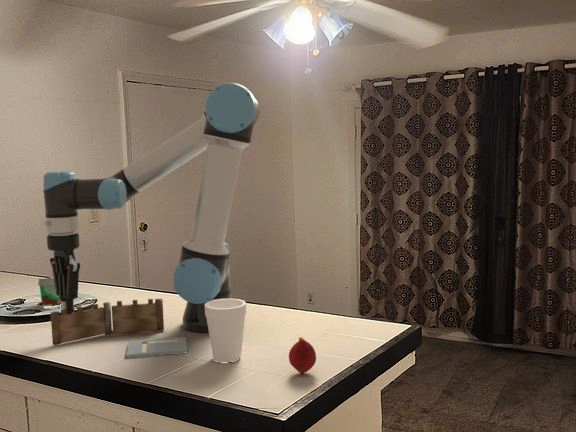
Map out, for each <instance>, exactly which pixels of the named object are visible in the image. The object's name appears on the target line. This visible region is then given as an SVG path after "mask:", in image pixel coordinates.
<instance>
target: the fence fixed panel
mask: <svg viewBox="0 0 576 432" xmlns="http://www.w3.org/2000/svg"><path fill="white" fill-rule="evenodd" d="M147 302H148V303H138V299H132V304H130V303H129V304H123V300H117V301H116V305H115V304H114V305H111V302H110V301H106V302H103V303H102V305H103V308H104V325H105V334H104V335H105V336H108V337H118V336H119V337H120V336H131V335H132V336H133V335H146V334H157V333H159V332H161V333H164V331H165V322H164V321H165V320H164V303H163V302H164V300H163V298H155V299H154V298H148V299H147Z"/></svg>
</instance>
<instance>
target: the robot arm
mask: <svg viewBox="0 0 576 432" xmlns="http://www.w3.org/2000/svg"><path fill="white" fill-rule="evenodd" d="M204 106H205V107H204V108H205V109H204V110H205V111H203V112H202V115H201V118H200V119H198V120H196V121H195V122H194V123H192V124H190V125H189V126H188V127H185V129H182V130H181V131H179V132H177V134H175V135H174V136H172V137H170V138H168V139H167V140H165V141H164V142H162V143H161V144H159V145H158V146H157V147H155V148H153V149H152V150H150V151H149V152H147V153H146V154H145V155H143V156H141V157H140V158H139V157H138V159H137V160H135V161H133V162H132V163H130V164H128V165H127V166H125V167H124V168H123V169H121V170H119V171H118V172H116V173H114V174H113V175H112V176H108V177H103V178H92V179H91V178H90V179H89V178H87V179H82V178H81V179H80V178H77V177H76V173H75V172H74V171H71V170H70V171H69V170H68V171H67V170H66V171H62V170H61V171H60V170H59V171H48V172H46V173H45V174H44V175H43V189H42V192H43V199H44V201H43V202H44V210H45V213H44V214H45V215H44V216H45V222H44V223H43V224H44V226H46V227H45V229H46V233H48V234H47V236H46V243H47V249H48V250H49V251H53V257H50V258H49V262H50V265H51V269H52V276H54V282H55V289H56V294H57V296H59V298H60V299H61V308H60V311H61V310H65V309H66V310H67V314H68V313H73V312H75V303H74V300H76V299H78V297H79V296H78V295H79V277H80V268H81V263H80V262H76V256H75V252H74V250H77V249H78V248H79V247H80V234H79V233H78V232H79V230H80V228H79V227H80V226H79V214H78V210H108V211H110V210H116V209H118V210H119V209H122V208H123V207H124V206H125V204H126V203H127V202H129V201H131V199H132V198H133V197H134V196H136V195H137V194H140V193H141V192H142V191H143V190H145V189H147V188H148V187H149V186H151V185H153V184H154V183H156V182H158V181H159V180H161V179H162V178H164V177H165V176H167V175H169V174H170V173H171V172H173V171H175V170H176V169H178V168H179V167H181V166H183V165H184V164H185V163H187V162H189V161H190V160H192V159H194V158H195V157H197V156H198V155H200V154H201V153H203V152H205V151H206V152H205V158H204V162H203V167H202V173H201V178H200V184H199V189H198V195H197V199H196V204H195V205H196V206H195V209H194V215H193V221H192V226H191V232H190V235H189V238H188V239H187V240H185V241H184V242H183V243H182V245H181V249H180V255H179V261H178V265H177V266H176V268H175V270H174V272H173V278H172V285H173V288H174V290H175V293H177V295H178V296H179V297H180V298H181V299H183V300H184V301H186V305H185V308H184V312H183V316H182V327H183V329H185V330H188V331H191V332H196V333H209V330H208V324H207V318H206V316H205V303H207V302H209V301H212V300H217V299H233V298H232V294H231V293H232V292H231V268H230V267H231V265H230V263H231V262H230V261H231V260H230V255H231V251H230V246H229V243H227V242H225V241H226V236H227V230H228V225H229V222H230V217H231V211H232V206H233V200H234V195H235V190H236V186H237V181H238V175H239V170H240V164H241V160H242V155H243V151H244V150H245V149H246V148H247V147H248V146H251V142H252V136H253V131H254V127H255V124H257V122H258V118H259V114H260V107H259V102H258V101H257V99H256V97H255V96H254V94H253V93H252V91H251V90H250V89H249V88H248V87H246V86H244V85H242V84H240V83H235V82H225V83H221V84H219V85H218V86H216V87H214V88H213V90H211V92H210V93H209V95H208V96H207V98H206V101H205V105H204Z"/></svg>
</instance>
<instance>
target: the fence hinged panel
mask: <svg viewBox="0 0 576 432" xmlns="http://www.w3.org/2000/svg"><path fill="white" fill-rule="evenodd" d="M83 309H84V307H83V306H76V311H74V312H73V313H68V314H67V310H66V309H65V310H61V309H60V311H52V312H50V323H51V339H52V341H51V342H52V346H59V345H61V344H66V343H70V342H74V341H78V340H84V339H88V338H93V337H97V336H102V335H105V325H104V307H102V306H100V307H99V304H98V303H92V304H91V308H90V309H84V310H83Z"/></svg>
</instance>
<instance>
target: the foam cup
mask: <svg viewBox="0 0 576 432" xmlns="http://www.w3.org/2000/svg"><path fill="white" fill-rule="evenodd" d="M246 315H247V303H246V301H245V300H242V299H238V298H232V299H217V300H212V301H209V302H207V303H205V316H206V318H207V324H208V330H209V332H208V335H209V341H210V347H211V353H212V358H214V359H213V361H214V360H215V361H217V362H231V361H236V360H238V359H239V358H240V357H241V358H242V350H243V340H244V331H245V330H244V329H245V321H246ZM215 361H214V362H215ZM217 362H216V363H217Z"/></svg>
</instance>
